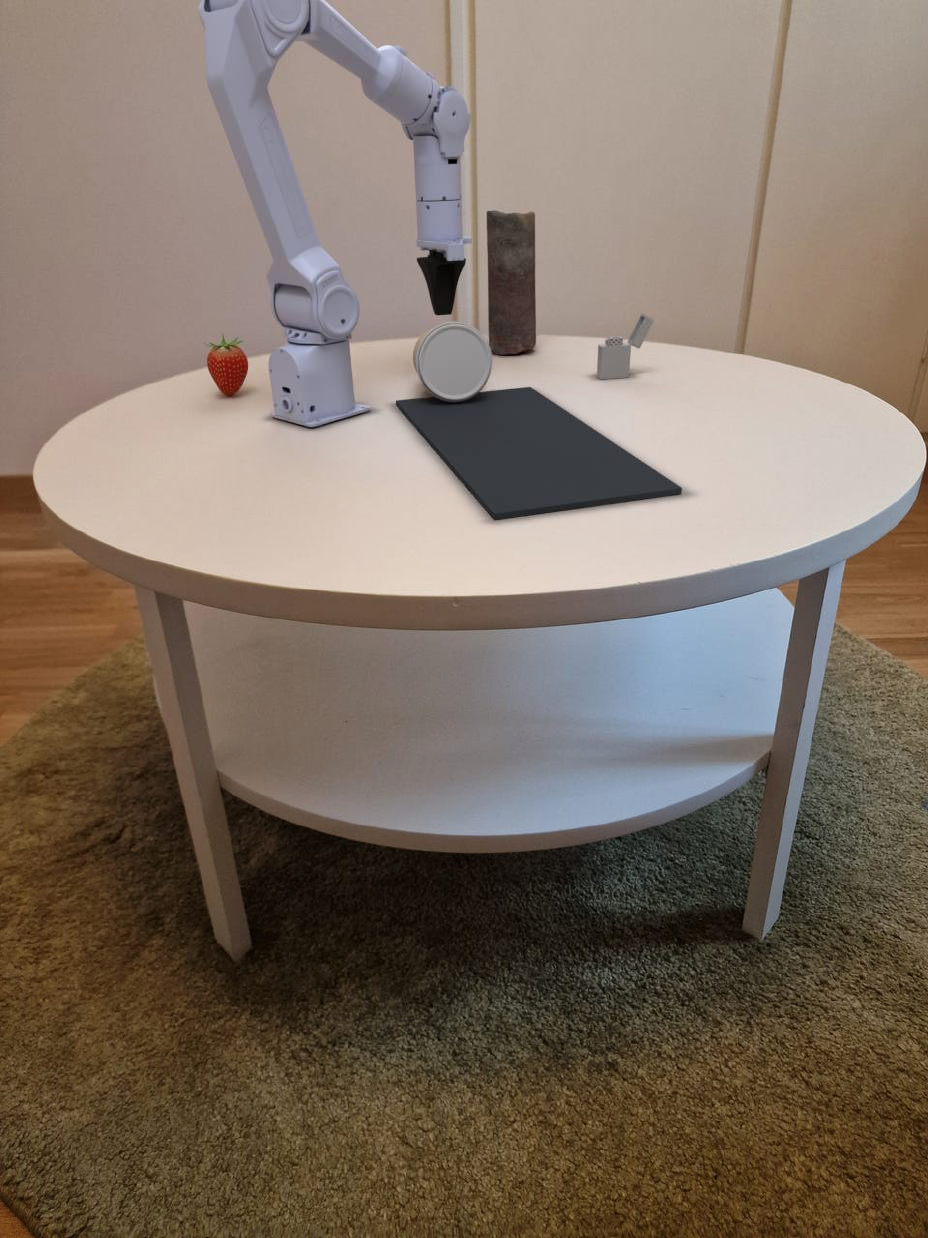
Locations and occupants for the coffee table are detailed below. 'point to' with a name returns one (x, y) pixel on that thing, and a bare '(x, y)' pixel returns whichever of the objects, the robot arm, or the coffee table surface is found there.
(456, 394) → the coffee cup
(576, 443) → the mat
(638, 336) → the lighter
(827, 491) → the coffee table surface
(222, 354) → the fruit
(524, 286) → the brown stone cylinder
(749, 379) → the coffee table surface
